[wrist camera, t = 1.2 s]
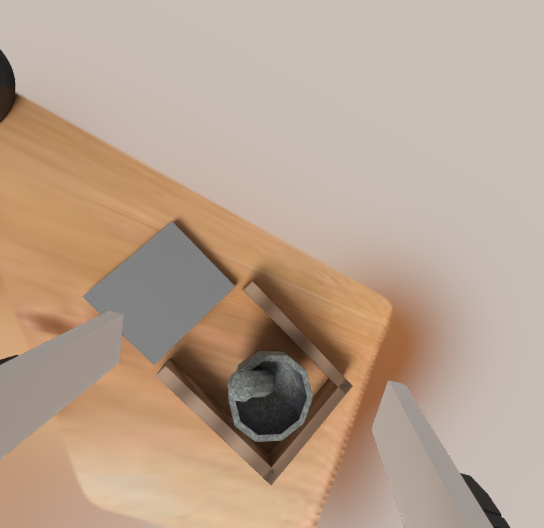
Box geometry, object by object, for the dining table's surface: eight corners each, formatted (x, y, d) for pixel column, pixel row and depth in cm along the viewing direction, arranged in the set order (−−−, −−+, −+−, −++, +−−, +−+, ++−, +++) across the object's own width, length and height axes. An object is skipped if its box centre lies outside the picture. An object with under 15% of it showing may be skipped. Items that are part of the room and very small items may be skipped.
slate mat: (86, 296, 32) (82, 296, 31) (173, 223, 35) (172, 221, 34) (155, 362, 33) (153, 364, 32) (234, 286, 36) (235, 286, 35)
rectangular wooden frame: (161, 367, 33) (155, 375, 30) (249, 281, 36) (252, 281, 33) (266, 468, 35) (271, 485, 32) (342, 378, 38) (352, 385, 35)
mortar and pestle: (307, 369, 37) (349, 409, 25) (267, 426, 35) (291, 496, 24) (249, 321, 36) (264, 339, 24) (204, 376, 34) (196, 425, 22)
